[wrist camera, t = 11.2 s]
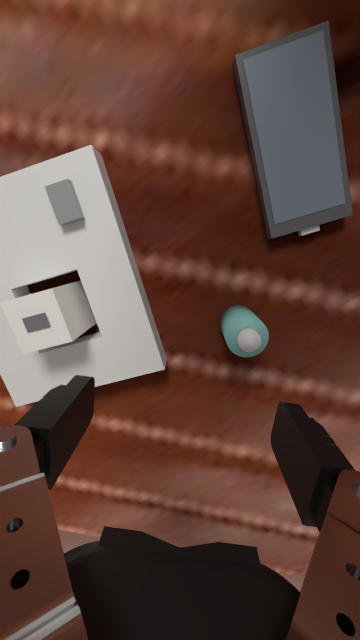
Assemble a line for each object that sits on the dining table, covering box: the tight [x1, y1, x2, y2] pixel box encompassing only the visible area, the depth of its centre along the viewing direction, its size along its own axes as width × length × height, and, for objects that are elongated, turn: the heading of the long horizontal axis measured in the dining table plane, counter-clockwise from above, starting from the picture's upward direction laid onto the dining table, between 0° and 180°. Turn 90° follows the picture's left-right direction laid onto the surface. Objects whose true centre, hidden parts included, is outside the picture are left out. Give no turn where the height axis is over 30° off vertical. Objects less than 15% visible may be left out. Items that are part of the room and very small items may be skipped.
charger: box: [0, 280, 97, 354], centre depth 24 cm, size 4×4×6 cm
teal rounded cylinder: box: [220, 305, 269, 357], centre depth 24 cm, size 4×4×6 cm
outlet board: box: [0, 145, 167, 407], centre depth 25 cm, size 20×16×3 cm
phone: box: [233, 21, 353, 239], centre depth 22 cm, size 14×7×1 cm, turn 16°
